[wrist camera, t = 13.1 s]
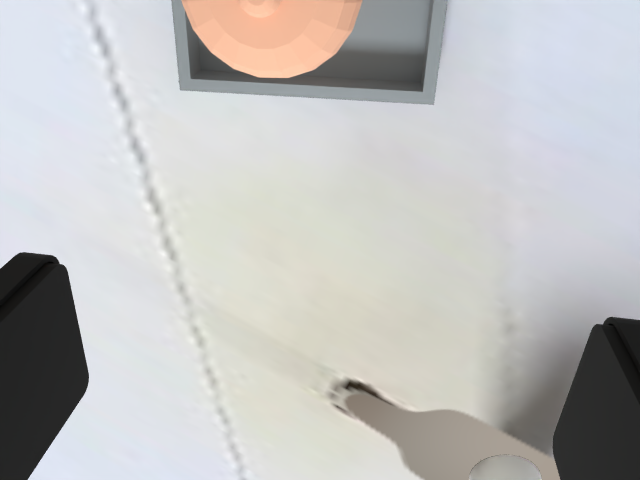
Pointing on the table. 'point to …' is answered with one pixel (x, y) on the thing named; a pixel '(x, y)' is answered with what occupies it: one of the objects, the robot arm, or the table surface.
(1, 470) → the robot arm
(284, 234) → the table surface
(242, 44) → the pepper shaker
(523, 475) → the cylindrical container
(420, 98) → the tray
